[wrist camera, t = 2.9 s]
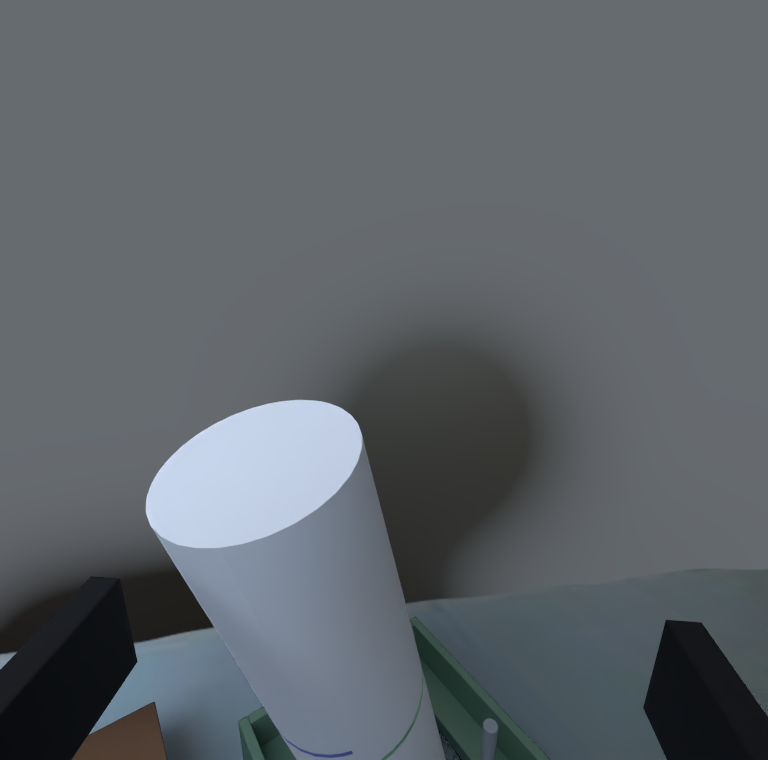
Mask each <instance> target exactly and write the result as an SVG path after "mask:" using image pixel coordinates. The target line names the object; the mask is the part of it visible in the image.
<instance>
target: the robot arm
mask: <svg viewBox="0 0 768 760" xmlns="http://www.w3.org/2000/svg"><path fill="white" fill-rule="evenodd" d="M136 663H137V658H136V653H135V648H134V643H133V639H132V634H131V629H130V625H129V620H128V615H127V611H126V606H125V601H124V597H123V591H122V587H121V582H120V579H117V578H104V577H90V578H89V579H88V580H87V581H86V582H85V583H84V584H83V585H82V586H81V587H80V589H79V590H77V591H76V593H75V594H74V595H73V596H72V597H71V598H70V599H69V600H68V601H67V602H66V603H65V604H64V605H63V606H62V607H61V608H60V609H59V610H58V611H57V612H56V613H55V614H54V615H53V616H52V617H51V618H50V619H49V620H48V621H47V622H46V623H45V624H44V626H42V628H41V629H40V630H39V631H38V632H37V633H36V634H35V635H34V636H33V637H32V638H31V639H30V640H29V641H28V642H27V643H26V644H25V645H24V646H23V647H22V648H21V649H20V650H19V651H18V652H17V653H16V654H15V655H14V656H13V657H12V658H11V659H10V660H9V661H8V662H7V664H6V665H5V666H4V667H3V668H2V669H1V670H0V760H72V758H73V757H74V755H75V754H76V752H77V751H78V749H79V748H80V746H81V745H82V743H83V742H84V740H85V739H86V737H87V736H88V734H89V733H90V731H91V730H92V728H93V727H94V725H95V724H96V722H97V721H98V720H99V718H100V717H101V715H102V714H103V712H104V711H105V709H106V708H107V706H108V705H109V703H110V702H111V700H112V699H113V697H114V696H115V694H116V693H117V691H118V690H119V688H120V687H121V685H122V684H123V682H124V681H125V679H126V678H127V676H128V675H129V673H130V672H131V670H132V669H133V667H134V666H135V664H136ZM643 708H644V710H645V712H646V715H647V717H648V719H649V721H650V723H651V725H652V728H653V730H654V732H655V734H656V736H657V739H658V741H659V743H660V745H661V747H662V750H663V752H664V754H665V756H666V758H667V760H768V717H767V715H766V714H765V712H764V711H763V710H762V708H761V707H760V705H759V704H758V702H757V701H756V700H755V698H754V697H753V695H752V694H751V692H750V691H749V690H748V688H747V687H746V685H745V684H744V682H743V681H742V680H741V678H740V677H739V675H738V674H737V673H736V671H735V670H734V668H733V667H732V665H731V664H730V663H729V661H728V660H727V658H726V657H725V655H724V654H723V653H722V651H721V650H720V648H719V647H718V646H717V644H716V643H715V641H714V640H713V638H712V637H711V636H710V634H709V633H708V631H707V630H706V628H705V627H704V626H703V624H702V623H699V622H686V621H672V620H666V622H665V626H664V630H663V634H662V638H661V642H660V645H659V649H658V653H657V657H656V661H655V665H654V669H653V672H652V676H651V680H650V684H649V688H648V692H647V696H646V700H645V703H644V707H643Z"/></svg>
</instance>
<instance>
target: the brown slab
mask: <svg viewBox="0 0 768 760" xmlns="http://www.w3.org/2000/svg"><path fill="white" fill-rule="evenodd" d="M72 760H167V755H166V750H165V746H164V741H163V737H162V732H161V728H160V723H159V719H158V714H157V710H156V705H155V702H152V703H150V704H148V705H146V706H144V707H142V708H140V709H138V710H136V711H135V712H133V713H131V714H129V715H127V716H125V717H123V718H121V719H119V720H117V721H115V722H113V723H111V724H109V725H107V726H105V727H103V728H102V729H100V730H98V731H96V732H94V733H92V734H90V735H88V736H87V737H86V739H85V740H84V742H83V743H82V745H81V746H80V748H79V749H78V751H77V752H76V754H75V755H74V757H73V758H72Z"/></svg>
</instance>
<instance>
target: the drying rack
mask: <svg viewBox="0 0 768 760" xmlns="http://www.w3.org/2000/svg"><path fill="white" fill-rule="evenodd" d="M410 623H411V627H412V631H413V634H414V638H415V642H416V646H417V650H418V654H419V658H420V662H421V666H422V670H423V674H424V678H425V681H426V685H427V689H428V693H429V697H430V701H431V704H432V708H433V712H434V716H435V720H436V724H437V728H438V729H439V730H440V732H441V733H442V734H443V736H444V737H445V738H446V739H447V741H448V742H449V743H450V745H451V746H452V747H453V748H454V750H455V751H456V752H457V754H458V755H459V756H460V757H461V759H462V760H550V759H549V758H548V757H547V756H546V755H545V754H544V753H543V752H542V751H541V750H540V749H539V748H538V747H537V745H536V744H535V743H534V742H533V741H532V740H531V739H530V738H529V737H528V736H527V735H526V734H525V733H524V732H523V731H522V730H521V728H520V727H519V726H518V725H517V724H516V723H515V722H514V721H513V720H512V719H511V718H510V717H509V716H508V715H507V714H506V713H505V712H504V710H503V709H502V708H501V707H500V706H499V705H498V704H497V703H496V702H495V701H494V700H493V699H492V698H491V697H490V696H489V695H488V693H487V692H486V691H485V690H484V689H483V688H482V687H481V686H480V685H479V684H478V683H477V682H476V681H475V680H474V679H473V678H472V676H471V675H470V674H469V673H468V672H467V671H466V670H465V669H464V668H463V667H462V666H461V665H460V664H459V663H458V662H457V661H456V659H455V658H454V657H453V656H452V655H451V654H450V653H449V652H448V651H447V650H446V649H445V648H444V647H443V646H442V645H441V644H440V642H439V641H438V640H437V639H436V638H435V637H434V636H433V635H432V634H431V633H430V632H429V631H428V630H427V629H426V628H425V627H424V625H423V624H422V623H421V622H420V621H419V620H418V619H417V618H416V617H414V618H412V619H411V620H410ZM238 723H239V731H240V738H241V745H242V752H243V759H244V760H296V758H295V757H294V755H293V753H292V752H291V750H290V749H289V747H288V745H287V744H286V742H285V741H284V739H283V738H282V736H281V734H280V733H279V731H278V730H277V728H276V726H275V725H274V723H273V722H272V720H271V718H270V717H269V715H268V713H267V712H266V710H265V708H264V707H262V708H260V709H258V710H257V711H255V712H253V713H252V714H250V715H249V716H248V717H245V718H243V719H242V720H240V721H239V722H238Z"/></svg>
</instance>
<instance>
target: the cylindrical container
mask: <svg viewBox="0 0 768 760" xmlns="http://www.w3.org/2000/svg"><path fill="white" fill-rule="evenodd" d="M146 514H147V517H148V520H149V523H150V525H151V527H152V529H153V530H154V532H155V534H156V535H157V537H158V538H159V540H160V542H161V543H162V545H163V546H164V548H165V549H166V551H167V552H168V554H169V556H170V557H171V559H172V560H173V562H174V563H175V565H176V567H177V568H178V570H179V571H180V573H181V575H182V576H183V578H184V579H185V581H186V583H187V584H188V586H189V587H190V589H191V591H192V592H193V594H194V595H195V597H196V599H197V600H198V602H199V603H200V605H201V607H202V608H203V609H204V611H205V613H206V614H207V616H208V618H209V619H210V621H211V622H212V624H213V626H214V627H215V629H216V630H217V632H218V634H219V635H220V637H221V638H222V640H223V641H224V643H225V645H226V646H227V648H228V650H229V651H230V653H231V655H232V656H233V658H234V659H235V661H236V663H237V664H238V666H239V668H240V669H241V671H242V673H243V674H244V676H245V677H246V679H247V681H248V682H249V684H250V686H251V687H252V689H253V691H254V692H255V694H256V695H257V697H258V699H259V700H260V702H261V704H262V705H263V707H264V708H265V710H266V712H267V713H268V715H269V717H270V718H271V720H272V722H273V723H274V725H275V726H276V728H277V730H278V731H279V733H280V734H281V736H282V738H283V739H284V741H285V742H286V744H287V745H288V747H289V749H290V750H291V752H292V753H293V755H294V757H295V758H296V760H446V758H445V755H444V751H443V747H442V743H441V739H440V735H439V731H438V728H437V724H436V720H435V716H434V712H433V708H432V704H431V701H430V697H429V693H428V689H427V685H426V681H425V678H424V674H423V670H422V666H421V662H420V658H419V654H418V650H417V646H416V642H415V638H414V634H413V631H412V627H411V623H410V619H409V615H408V611H407V607H406V604H405V600H404V596H403V592H402V588H401V584H400V581H399V576H398V573H397V569H396V565H395V561H394V557H393V553H392V549H391V546H390V542H389V538H388V534H387V530H386V526H385V523H384V519H383V515H382V511H381V507H380V504H379V499H378V496H377V492H376V488H375V484H374V481H373V476H372V473H371V469H370V465H369V461H368V457H367V453H366V449H365V445H364V441H363V437H362V434H361V431H360V428H359V425H358V423H357V422H356V421H355V419H354V418H353V417H352V416H351V415H350V414H349V413H347V412H346V411H345V410H343V409H342V408H340V407H337V406H335V405H332V404H329V403H325V402H320V401H313V400H291V401H281V402H276V403H270V404H265V405H262V406H259V407H255V408H251V409H248V410H245V411H243V412H240V413H237V414H235V415H232V416H230V417H228V418H226V419H224V420H222V421H220V422H218V423H216V424H214V425H212V426H211V427H209V428H207V429H206V430H204V431H202V432H201V433H199V434H197V435H196V436H195V437H193V438H192V439H191V440H189V441H188V442H187V443H186V444H184V445H183V446H182V447H181V448H180V449H178V450H177V452H175V453H174V454H173V455H172V456H171V457H170V458H169V459H168V460H167V462H166V463H165V464H164V465H163V467H162V468H161V469H160V470H159V472H158V473H157V475H156V477H155V478H154V480H153V482H152V484H151V486H150V489H149V492H148V495H147V498H146Z"/></svg>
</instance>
